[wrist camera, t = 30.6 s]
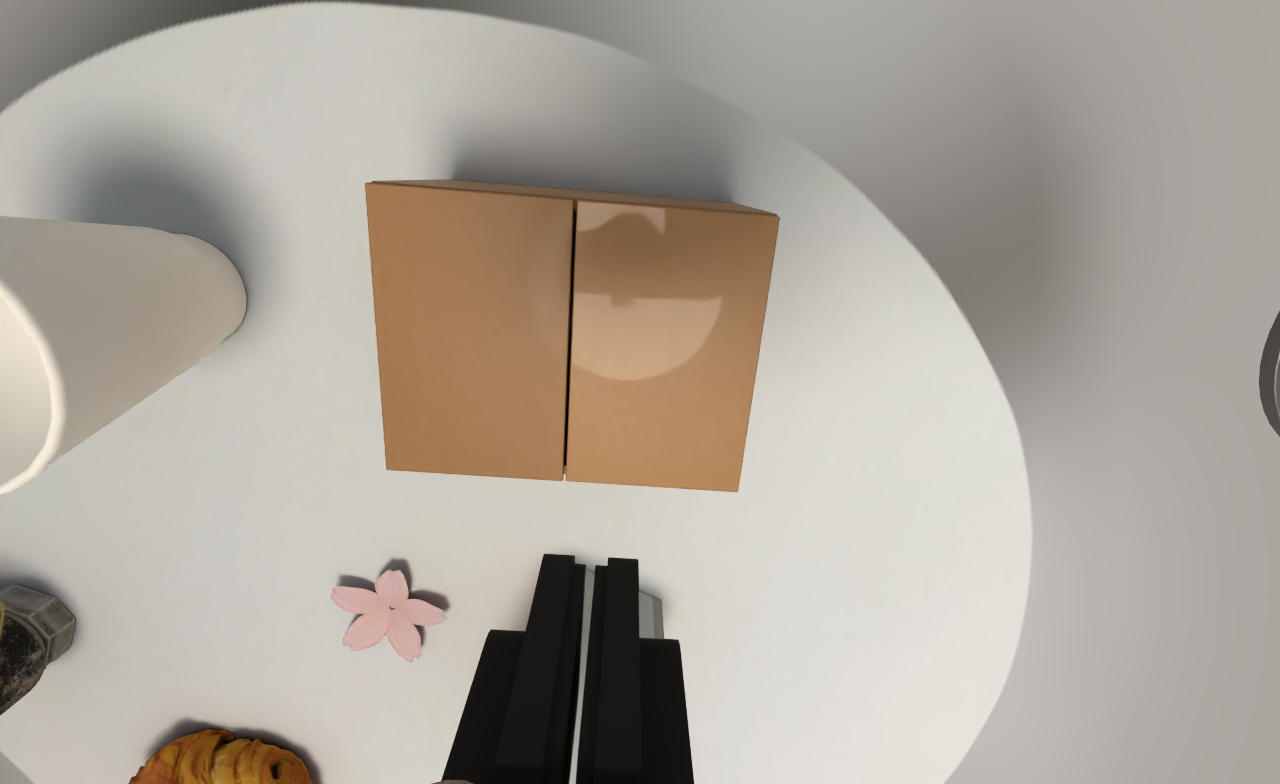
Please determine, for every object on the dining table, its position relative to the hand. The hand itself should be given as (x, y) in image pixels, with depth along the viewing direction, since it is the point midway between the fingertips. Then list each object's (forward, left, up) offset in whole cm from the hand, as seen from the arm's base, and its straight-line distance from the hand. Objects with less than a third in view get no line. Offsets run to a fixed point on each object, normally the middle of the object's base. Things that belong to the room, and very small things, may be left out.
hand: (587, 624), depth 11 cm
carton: (+1, +2, -29) cm, 29 cm away
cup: (+16, +22, -29) cm, 40 cm away
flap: (-1, -2, -17) cm, 17 cm away
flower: (-9, +28, -29) cm, 42 cm away
